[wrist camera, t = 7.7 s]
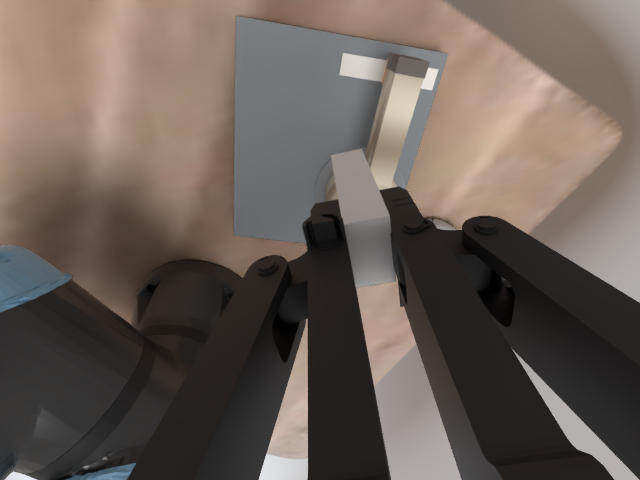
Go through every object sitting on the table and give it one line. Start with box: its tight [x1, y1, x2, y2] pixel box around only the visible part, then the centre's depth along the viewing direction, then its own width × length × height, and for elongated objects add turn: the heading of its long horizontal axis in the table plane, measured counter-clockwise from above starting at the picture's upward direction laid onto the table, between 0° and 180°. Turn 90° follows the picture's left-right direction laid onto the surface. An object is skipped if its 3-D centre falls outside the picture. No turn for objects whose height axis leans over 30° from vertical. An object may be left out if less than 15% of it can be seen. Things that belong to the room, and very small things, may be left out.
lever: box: [325, 52, 430, 201], centre depth 28 cm, size 16×7×7 cm, turn 170°
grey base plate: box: [233, 16, 448, 244], centre depth 32 cm, size 20×17×2 cm
